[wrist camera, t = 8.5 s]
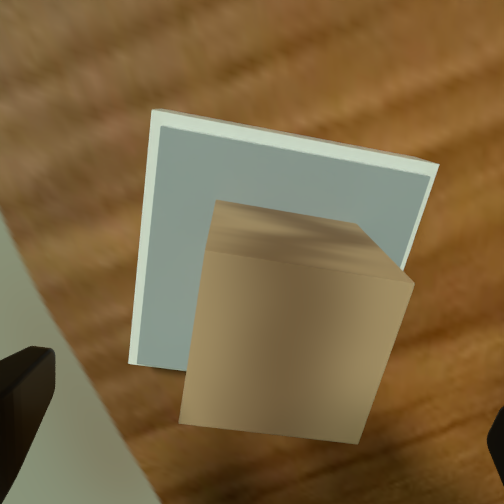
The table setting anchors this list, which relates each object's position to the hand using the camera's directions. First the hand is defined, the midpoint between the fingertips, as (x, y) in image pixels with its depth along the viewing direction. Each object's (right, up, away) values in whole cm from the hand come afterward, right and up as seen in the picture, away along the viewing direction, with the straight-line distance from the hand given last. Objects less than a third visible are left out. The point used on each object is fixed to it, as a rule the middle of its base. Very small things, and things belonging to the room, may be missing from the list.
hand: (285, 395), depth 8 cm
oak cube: (0, +2, +10) cm, 10 cm away
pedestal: (0, +3, +13) cm, 13 cm away
